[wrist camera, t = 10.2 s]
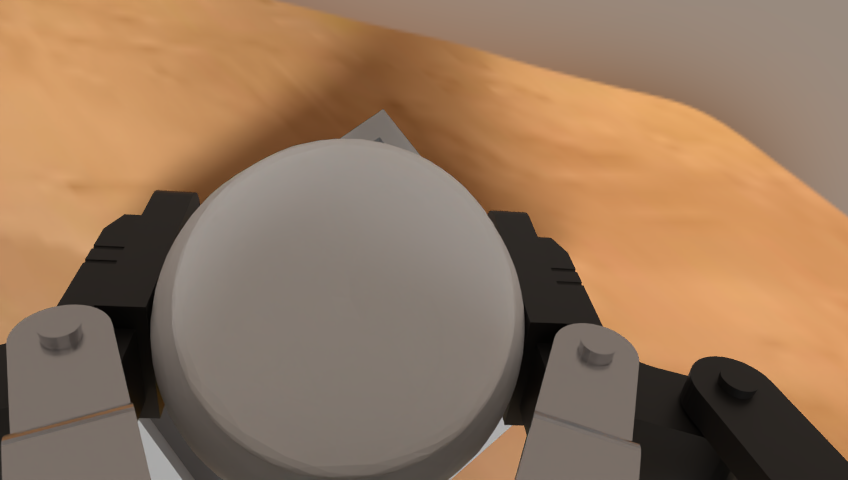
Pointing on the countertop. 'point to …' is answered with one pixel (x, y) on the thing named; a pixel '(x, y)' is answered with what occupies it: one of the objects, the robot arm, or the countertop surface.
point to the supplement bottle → (338, 319)
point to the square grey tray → (163, 444)
